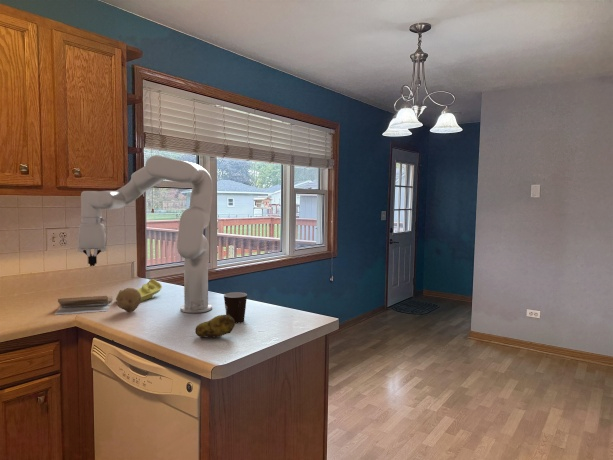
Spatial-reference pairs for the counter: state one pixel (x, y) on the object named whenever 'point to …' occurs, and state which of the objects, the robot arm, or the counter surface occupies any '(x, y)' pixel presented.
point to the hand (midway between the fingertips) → (92, 265)
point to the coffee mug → (235, 305)
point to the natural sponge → (129, 299)
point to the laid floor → (83, 308)
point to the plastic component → (148, 289)
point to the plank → (83, 301)
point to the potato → (216, 326)
